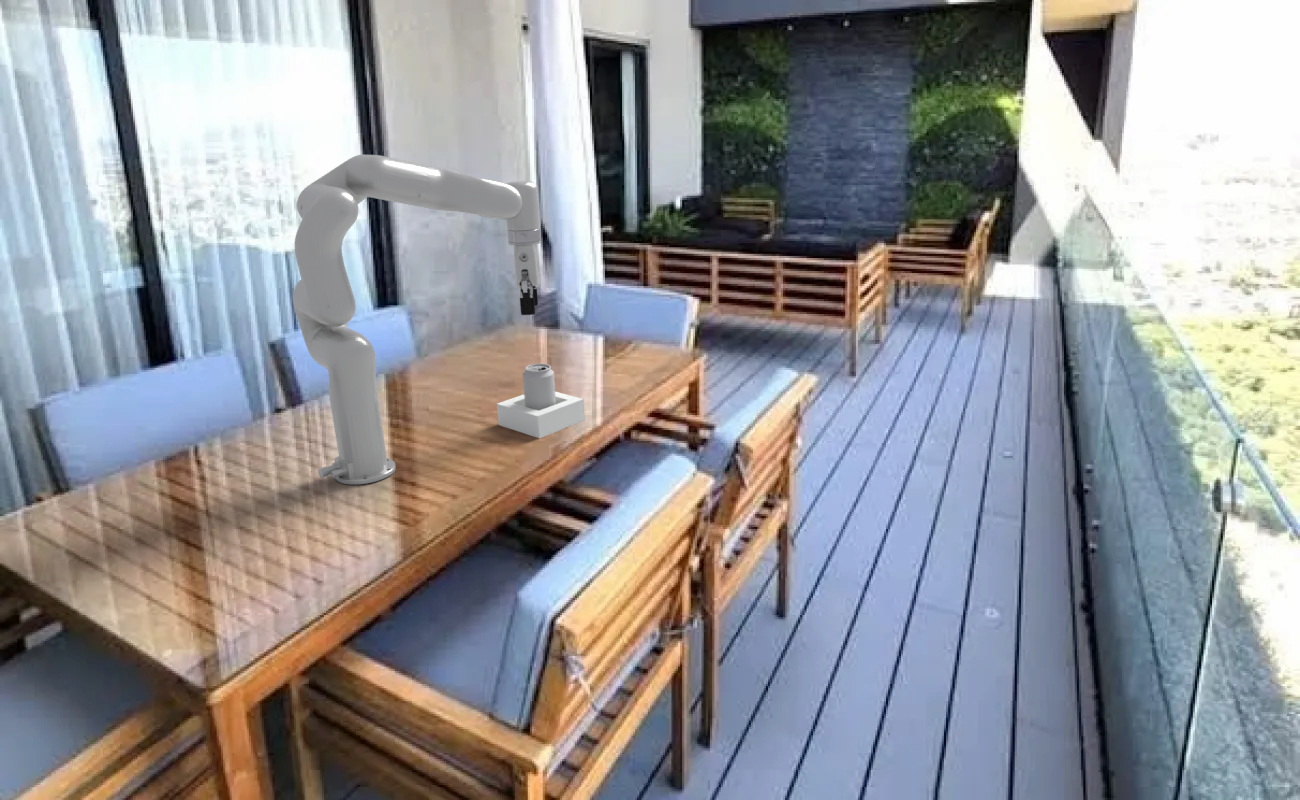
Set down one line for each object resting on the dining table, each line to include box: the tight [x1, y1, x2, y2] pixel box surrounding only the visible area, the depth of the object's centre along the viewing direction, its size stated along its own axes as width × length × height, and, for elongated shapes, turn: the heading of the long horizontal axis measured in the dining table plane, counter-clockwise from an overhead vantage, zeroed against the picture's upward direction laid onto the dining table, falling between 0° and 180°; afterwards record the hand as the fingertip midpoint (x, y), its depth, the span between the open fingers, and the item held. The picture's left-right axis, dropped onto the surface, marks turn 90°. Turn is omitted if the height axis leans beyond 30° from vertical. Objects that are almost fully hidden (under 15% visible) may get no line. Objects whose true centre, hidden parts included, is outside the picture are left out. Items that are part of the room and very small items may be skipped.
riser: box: [496, 391, 586, 439], centre depth 207 cm, size 15×15×6 cm
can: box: [522, 363, 556, 411], centre depth 204 cm, size 8×8×12 cm
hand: (529, 309), depth 198 cm, fingers open, 9 cm apart
